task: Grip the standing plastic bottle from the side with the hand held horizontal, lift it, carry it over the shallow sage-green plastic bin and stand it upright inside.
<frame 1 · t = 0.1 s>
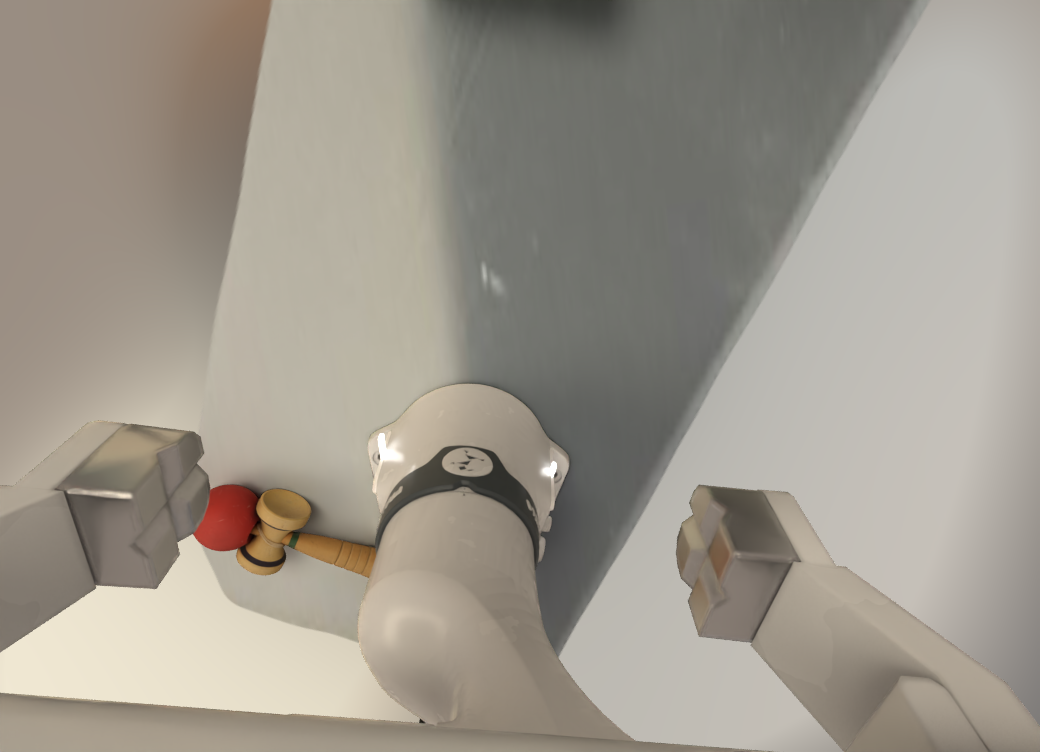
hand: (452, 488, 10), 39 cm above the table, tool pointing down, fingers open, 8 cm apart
kendama: (302, 519, 58), on the table
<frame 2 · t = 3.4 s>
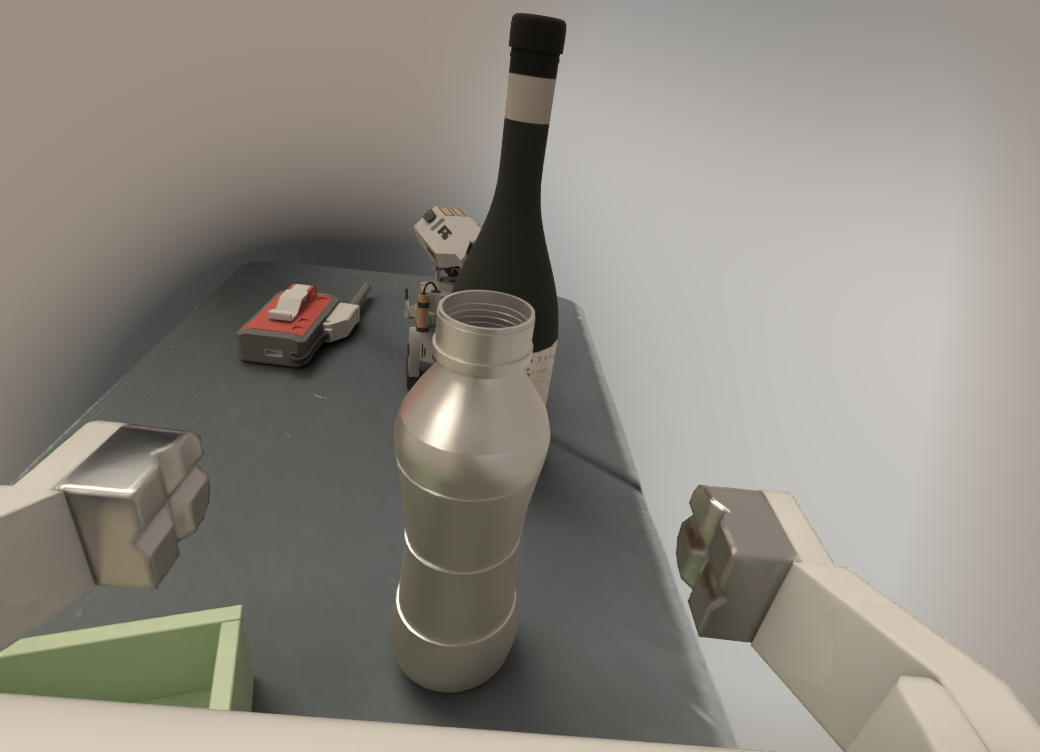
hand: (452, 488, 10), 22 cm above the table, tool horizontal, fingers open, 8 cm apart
wine bottle: (485, 458, 46), on the table
walkie-talkie: (313, 328, 61), on the table
figurine: (450, 371, 57), on the table
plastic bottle: (450, 653, 31), on the table
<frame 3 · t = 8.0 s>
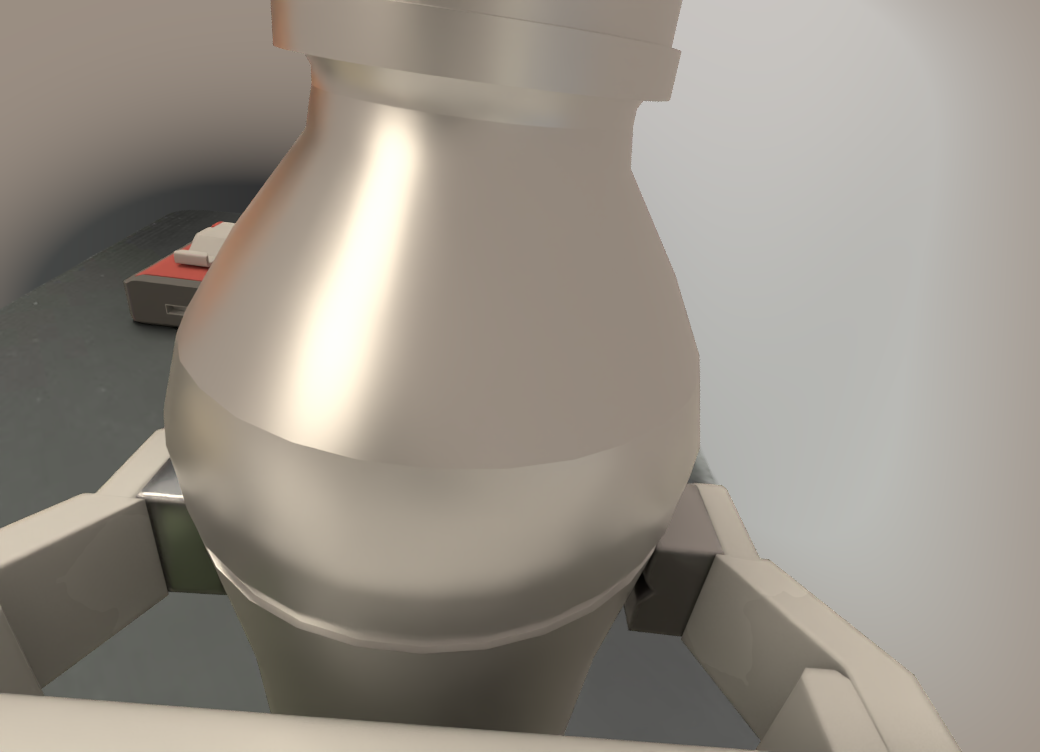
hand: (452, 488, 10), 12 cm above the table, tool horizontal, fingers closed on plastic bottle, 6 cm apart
walkie-talkie: (250, 285, 45), on the table
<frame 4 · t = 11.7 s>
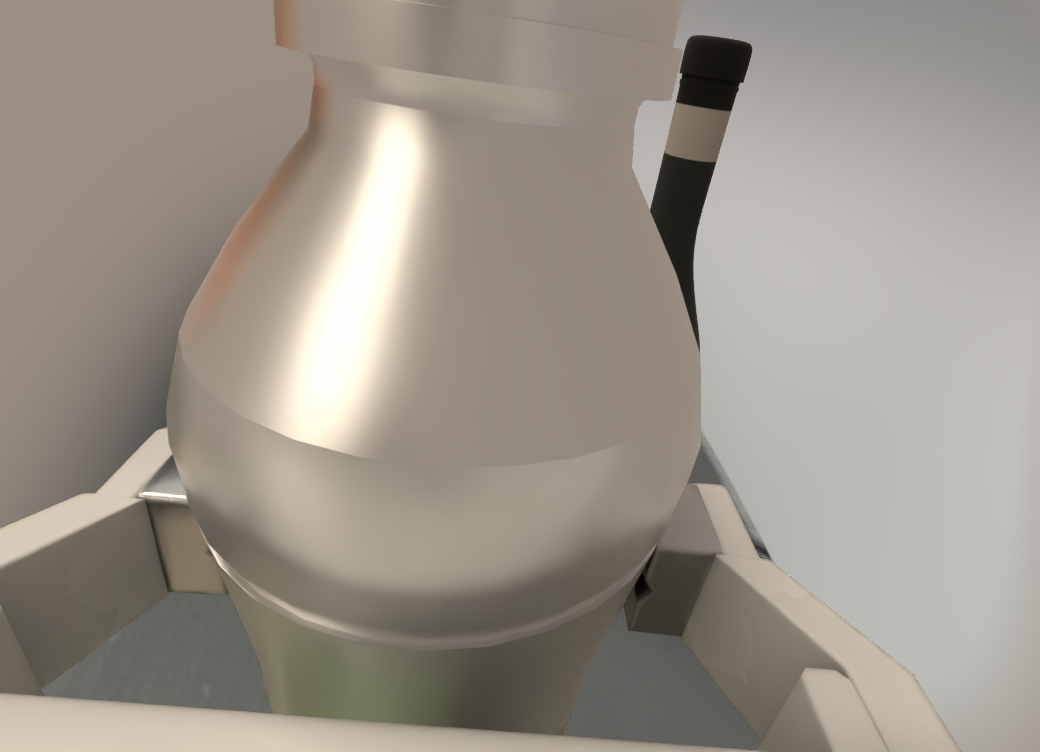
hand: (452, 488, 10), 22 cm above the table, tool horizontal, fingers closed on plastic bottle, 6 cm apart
wine bottle: (593, 519, 42), on the table
when the fingers open (13 cm above the table, at t = 15.5 s): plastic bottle stays where it is, resting on bin.
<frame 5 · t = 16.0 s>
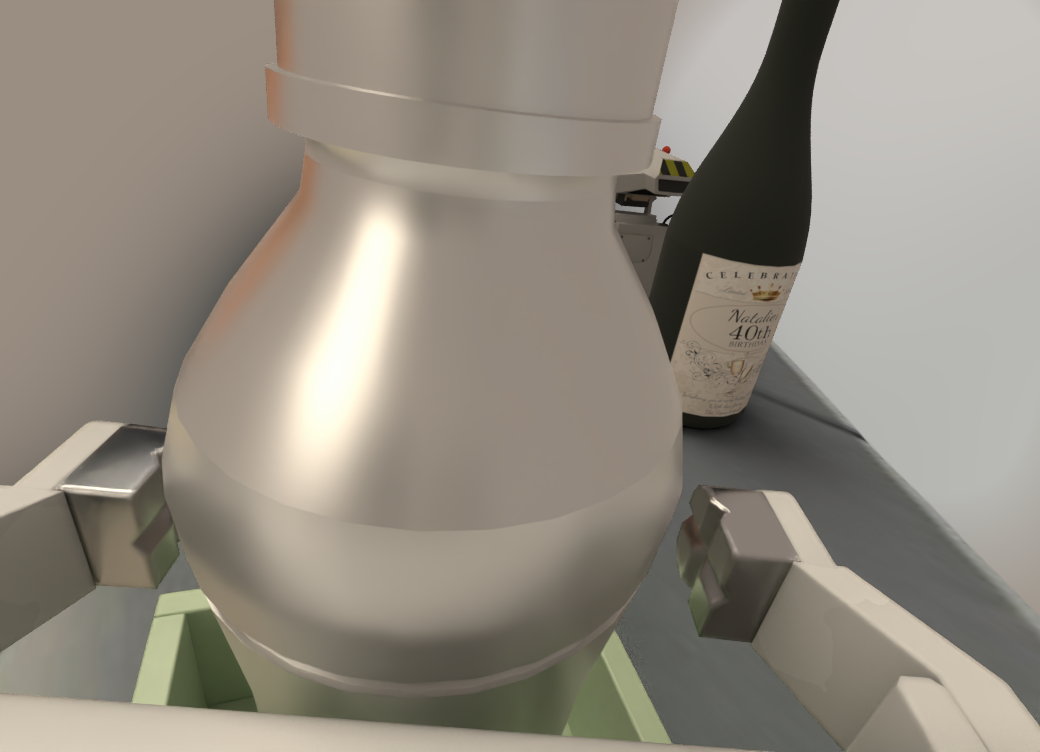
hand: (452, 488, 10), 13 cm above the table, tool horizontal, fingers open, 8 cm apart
wine bottle: (681, 404, 40), on the table
figurine: (599, 319, 52), on the table
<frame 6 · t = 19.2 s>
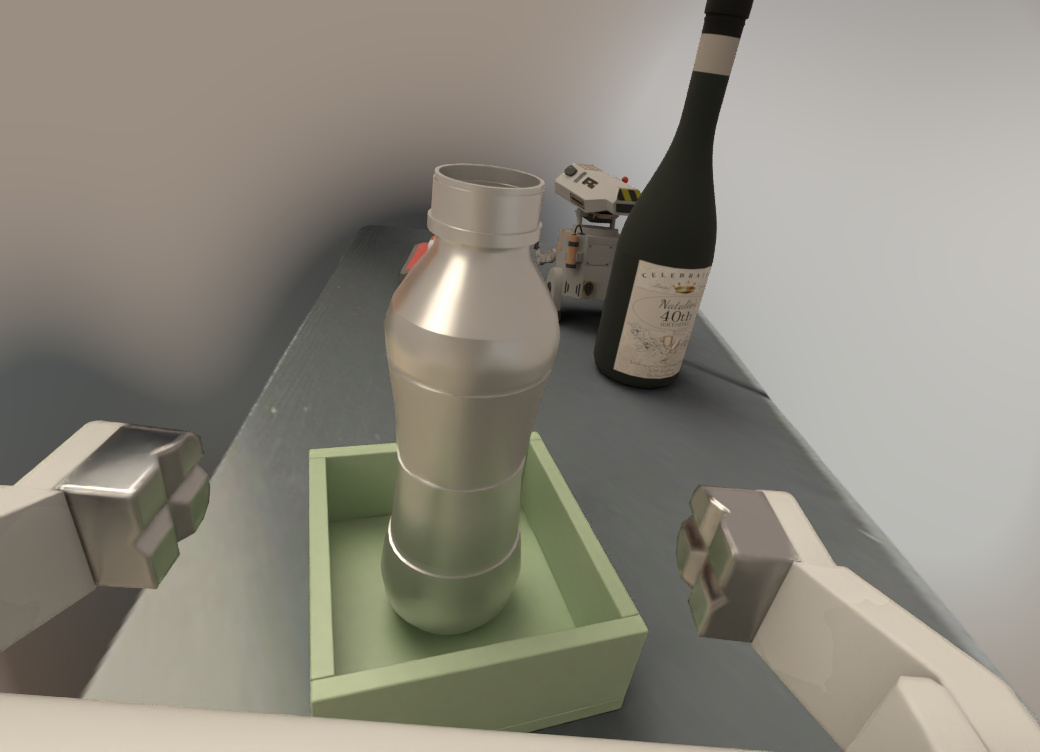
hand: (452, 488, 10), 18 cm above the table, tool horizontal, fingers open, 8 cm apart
wine bottle: (633, 372, 54), on the table
walkie-talkie: (446, 277, 69), on the table
bin: (448, 605, 29), on the table
figurine: (576, 311, 65), on the table
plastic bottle: (447, 598, 28), point 1 cm above the table, touching bin
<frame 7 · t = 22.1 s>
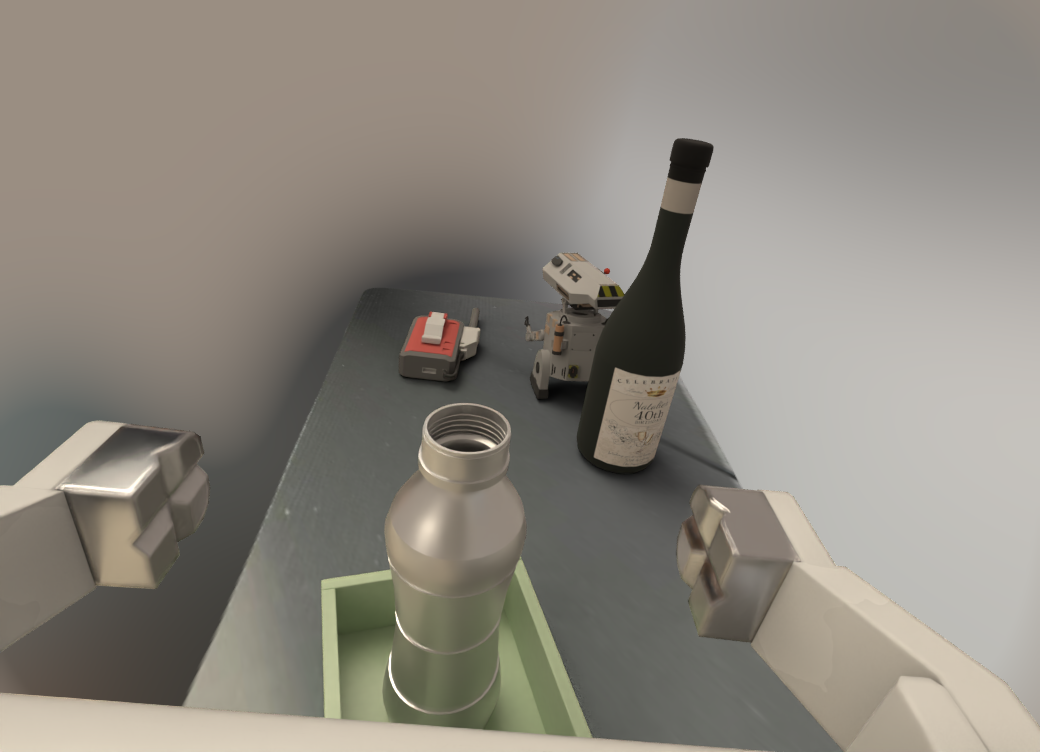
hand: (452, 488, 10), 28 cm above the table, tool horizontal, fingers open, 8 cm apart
wine bottle: (613, 454, 59), on the table
walkie-talkie: (443, 348, 74), on the table
bin: (440, 715, 34), on the table
figurine: (563, 384, 70), on the table
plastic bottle: (439, 710, 34), point 1 cm above the table, touching bin
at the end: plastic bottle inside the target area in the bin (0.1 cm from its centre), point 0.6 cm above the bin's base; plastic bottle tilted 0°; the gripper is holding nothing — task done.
